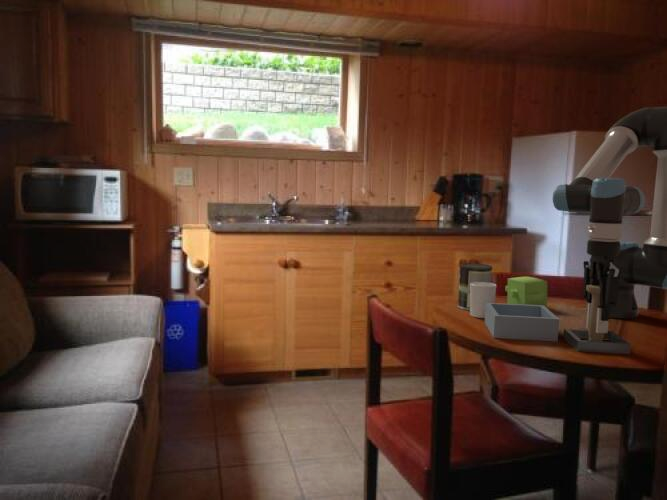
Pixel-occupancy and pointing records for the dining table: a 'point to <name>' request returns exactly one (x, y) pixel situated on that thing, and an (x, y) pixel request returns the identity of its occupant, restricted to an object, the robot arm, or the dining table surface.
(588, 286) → the handle
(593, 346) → the flat grey tray
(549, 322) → the bin
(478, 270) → the coffee can
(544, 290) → the gearbox
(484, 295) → the white cup
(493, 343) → the dining table surface
